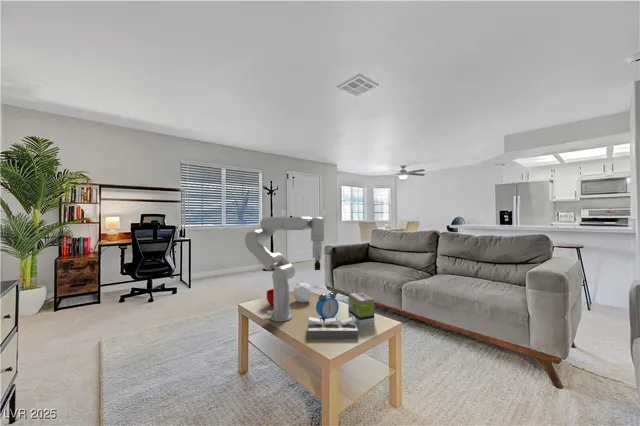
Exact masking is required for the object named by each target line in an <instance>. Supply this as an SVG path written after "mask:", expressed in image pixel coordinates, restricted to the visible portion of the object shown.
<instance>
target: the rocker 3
mask: <svg viewBox="0 0 640 426" xmlns="http://www.w3.org/2000/svg"><path fill="white" fill-rule="evenodd" d="M340 321H342V325H346V324H349V323H352V322H355V321H356V320H355V317H354V316H353V317H348V318H344V319H341V320H340Z"/></svg>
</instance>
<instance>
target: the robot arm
mask: <svg viewBox="0 0 640 426" xmlns="http://www.w3.org/2000/svg"><path fill="white" fill-rule="evenodd" d="M259 226H260V228H258V229H257V228H256V229H251V230H249V231H248V232H247V233H246V234H245V236H244V244H245V246H246V249H247V250H248V251H249V252H250V253H251V254H252V255H253V256H255V258H256V260H258V261H259V263H261V264H262V266H263V267H264V268H265V269H267V270H272V269H273V270H272V274H271V279H272V285H273V289H274V307H273V310H266V315H267V316H271V317H270V319H271V320H272V321H274V322H280V323H281V322H287V321H290V320H292V319H293V318H292V317H293V315H292V314H291V313H290V284H289V281H288V280H290V279H292V278H293V277H294V276H295V273H296V270H295V269H296V268H295V267H294V265H293V263H291V261H289V260H288V259H287V258H286V257H285V256H284V254H282V253H281V252H277V251H276V252H271V251H270V250H269V249H268V248H267V247H266V246H265V245H263V244H262V243H264V242H266V241H268V240H269V239H270V237H272V235H273V234H275V232H276V231H304V230H310V241H311V242H312V259H314V271H321V258H322V252H323V251H322V250H323V246H322V245H323V242H324V241H325V240H324V239H325V219H324V218H323V216H322V217H321V216H313V217H312V216H289V217H288V216H266V217H263V218H261V220H260V222H259Z"/></svg>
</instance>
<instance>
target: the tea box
mask: <svg viewBox="0 0 640 426" xmlns="http://www.w3.org/2000/svg"><path fill="white" fill-rule="evenodd" d="M347 295H348V297H347V301H348V313H347V314H348V318H350V317H353V316H354V317H355V320H356V321H355V322H356V325H358V326H359V327H363V326H369V324H371V325H375V298H373V297H371V296H369V295H368V294H365V293H364V292H356V293H355V292H353V293H348V294H347Z"/></svg>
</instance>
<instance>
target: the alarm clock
mask: <svg viewBox="0 0 640 426" xmlns="http://www.w3.org/2000/svg"><path fill="white" fill-rule="evenodd" d="M336 297H337V296H336V294H335V293H334V292H329V293H327V294H325V293H322V294H320V295H319V296H318V300H317V302H316V305H315V310H316V313H317V315H318V316H320V317H321V318H322V319H324V320H323V321H325V319H329V318H335V317H336V315H337V314H338V313H339V308H340V307H339V306H340V305H339V302H338V300H337V299H336Z"/></svg>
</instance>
